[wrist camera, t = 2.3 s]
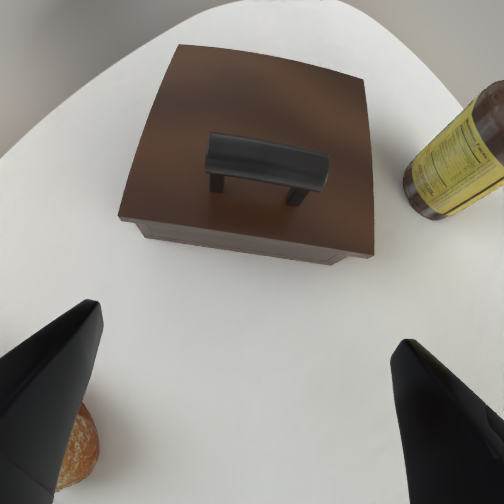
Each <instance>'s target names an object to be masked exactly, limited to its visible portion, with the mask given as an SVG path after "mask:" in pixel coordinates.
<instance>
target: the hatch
mask: <svg viewBox="0 0 504 504" xmlns="http://www.w3.org/2000/svg"><path fill="white" fill-rule="evenodd" d="M118 217H119V219H120V220H121V221H125V222H132V223H139V224H146V225H153V226H160V227H166V228H173V229H180V230H187V231H194V232H200V233H207V234H214V235H220V236H227V237H233V238H240V239H247V240H253V241H260V242H266V243H272V244H279V245H285V246H292V247H298V248H304V249H311V250H317V251H323V252H329V253H336V254H342V255H348V256H354V257H360V258H366V259H368V258H370V257H372V256H374V192H373V171H372V155H371V142H370V131H369V121H368V112H367V103H366V95H365V88H364V81H363V79H360V78H357V77H353V76H350V75H347V74H344V73H340V72H337V71H333V70H330V69H326V68H322V67H319V66H315V65H311V64H307V63H302V62H298V61H294V60H289V59H284V58H280V57H274V56H269V55H264V54H258V53H252V52H246V51H239V50H232V49H224V48H216V47H206V46H195V45H181V44H179V45H178V47H177V49H176V51H175V53H174V55H173V57H172V60H171V62H170V64H169V66H168V69H167V71H166V73H165V76H164V78H163V81H162V83H161V85H160V88H159V90H158V93H157V95H156V98H155V100H154V103H153V106H152V108H151V111H150V113H149V116H148V119H147V122H146V124H145V127H144V130H143V133H142V136H141V139H140V142H139V145H138V148H137V151H136V154H135V157H134V160H133V163H132V166H131V169H130V173H129V176H128V179H127V183H126V186H125V190H124V193H123V197H122V201H121V204H120V208H119V212H118Z"/></svg>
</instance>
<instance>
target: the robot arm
mask: <svg viewBox="0 0 504 504" xmlns="http://www.w3.org/2000/svg"><path fill="white" fill-rule="evenodd" d="M103 326H104V325H103V317H102V311H101V306H100V303H99V302H98V301H94V300H89V299H86V300H84V301H82V302H81V303H79V304H78V305H76V306H75V307H73V308H72V309H70V310H69V311H67V312H66V313H64V314H63V315H61V316H60V317H58V318H57V319H55V320H54V321H52V322H51V323H49V324H48V325H46V326H45V327H44V328H42V329H41V330H39V331H38V332H36V333H35V334H34V335H32V336H31V337H29V338H28V339H26V340H25V341H24V342H22V343H21V344H19V345H18V346H17V347H15V348H14V349H12V350H11V351H10V352H8V353H7V354H5V355H4V356H3V357H1V358H0V504H52V503H53V498H54V493H55V489H56V485H57V481H58V477H59V474H60V470H61V466H62V463H63V459H64V455H65V452H66V449H67V445H68V442H69V439H70V435H71V432H72V429H73V426H74V423H75V420H76V417H77V414H78V411H79V408H80V405H81V402H82V399H83V396H84V394H85V391H86V388H87V385H88V382H89V380H90V377H91V373H92V370H93V366H94V362H95V358H96V354H97V350H98V346H99V343H100V339H101V335H102V332H103ZM390 365H391V373H392V382H393V392H394V401H395V407H396V413H397V418H398V424H399V429H400V435H401V441H402V447H403V453H404V460H405V467H406V474H407V482H408V490H409V499H410V504H504V420H503V419H502V418H501V417H499V416H498V415H497V414H496V413H495V412H494V411H493V410H492V409H491V408H490V407H489V406H488V405H486V403H484V402H483V401H482V400H481V399H480V398H479V397H478V396H477V395H476V394H475V393H474V392H473V391H472V390H471V389H469V388H468V387H467V386H466V385H465V384H464V383H463V382H462V381H461V380H460V379H459V378H458V377H456V376H455V375H454V374H453V373H452V372H451V371H450V370H449V369H448V368H447V367H445V366H444V365H443V364H442V363H441V362H440V361H439V360H438V359H437V358H435V357H434V356H433V355H432V354H431V353H430V352H429V351H428V350H426V349H425V348H424V347H423V346H422V345H421V344H420V343H418V342H417V341H416V340H415V339H403V340H402V341H401V342H400V344H399V345H398V347H397V348H396V350H395V351H394V353H393V354H392V356H391V360H390Z"/></svg>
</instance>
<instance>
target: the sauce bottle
mask: <svg viewBox="0 0 504 504" xmlns="http://www.w3.org/2000/svg"><path fill="white" fill-rule="evenodd" d="M403 185H404V189H405V192H406V195H407V197H408V199H409V201H410V203H411V205H412V207H413V208H414V209H415V210H416V211H417V212H418V213H420V214H421V215H423V216H424V217H426V218H429V219H431V220H439V219H443V218H445V217H447V216H448V215H454V214H456V213H458V212H459V211H461V210H463V209H464V208H466V207H468V206H470V205H471V204H473V203H475V202H476V201H478V200H480V199H481V198H483V197H484V196H486V195H488V194H490V193H491V192H493V191H495V190H496V189H498V188H499V187H501V186H503V185H504V80H502V81H497V82H495V83H493V84H491V85H490V86H488V87H487V89H484V90H483V91H482V92H481V93H480V94H479V95H478V96H477V97H476V98H475V99H474V100H473V101H472V102H471V103H470V104H469V105H468V106H467V107H466V108H465V109H464V110H463V111H462V112H461V113H460V114H459V115H458V116H457V117H456V118H455V119H454V120H453V121H452V122H451V123H450V124H448V126H447V127H446V128H445V129H444V130H443V131H441V132H440V133H439V134H438V135H437V136H436V137H435V138H434V139H433V140H432V141H431V142H430V143H429V144H428V145H427V146H426V147H425V148H424V149H423V150H422V151H421V152H420V153H419V154H418V155H417V156H416V157H415V159H414V160H413V161H412V162H411V163H410V164H409V166H408V167H407V169H406V172H405V175H404V179H403Z"/></svg>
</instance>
